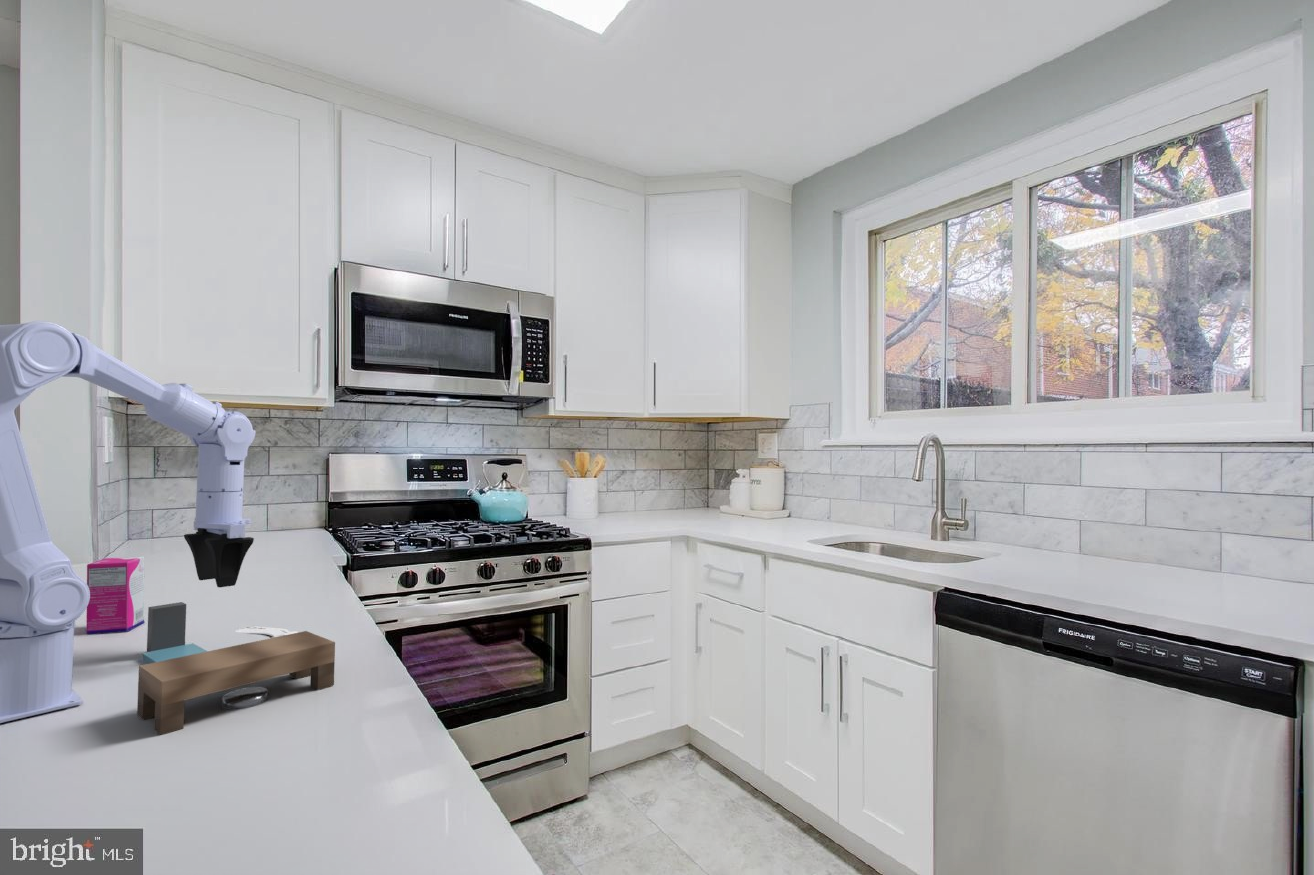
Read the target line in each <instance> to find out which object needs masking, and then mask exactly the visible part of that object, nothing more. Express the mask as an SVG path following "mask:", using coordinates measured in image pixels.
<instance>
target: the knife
mask: <svg viewBox="0 0 1314 875" xmlns="http://www.w3.org/2000/svg"><path fill="white" fill-rule="evenodd" d="M253 626H254V625H253ZM245 627H246V628H244V629H240V628H238V629H239V630H237V629H236V630H235V631H234V633H238V634H247V635H248V634H249V635H250V634H251V635H252V634H253V635H264V636H265V635H267V636H271V638H275V637H279V636H284V635H289V634H294V633H299V631H296V630H295V631H290V630H288V629H287V628H280V627H279V628H278V627H268V626H267V627H266V626H254V627H251V629H250V628H247V626H245Z"/></svg>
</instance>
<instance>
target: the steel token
mask: <svg viewBox="0 0 1314 875" xmlns="http://www.w3.org/2000/svg"><path fill="white" fill-rule="evenodd" d="M268 690H269V689H268V688H266V687H262V686H252V687H251V686H249V687H244V688H238V689H235V690H232V691H229V692H227V693H225V694H224V695H222V701H221V702H222V704H221V705H222V708H223V709H226V710H243V709H249V708H253V707H257V706H259V705H261V704H263V703H265V702H266V701H267V700H268V694H269V692H268Z"/></svg>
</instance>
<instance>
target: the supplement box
mask: <svg viewBox="0 0 1314 875" xmlns="http://www.w3.org/2000/svg"><path fill="white" fill-rule="evenodd" d="M145 558H146V557H145V556H142V555H141V556H129V557H127V556H126V557H107V558H102V559H100V560H97V561H94V562H90V563H87V564H86V583H87V585H88V587H89V590H90V600H89V603H88V606H87V608H86V626H85V627H86V629H85V630H86V631H85V632H86V633H85V634H87V635H94V634H95V635H97V634H99V635H100V634H110V633H112V634H113V633H115V634H116V633H128V632H130V631H132V630H134V629H135V628H137V627H139V626H141V625H143V624H144V623H145Z"/></svg>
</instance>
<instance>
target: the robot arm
mask: <svg viewBox="0 0 1314 875" xmlns="http://www.w3.org/2000/svg"><path fill="white" fill-rule="evenodd" d="M62 377H65V378H66V377H67V378H70V377H71V378H79V379H83V380H84V381H86V382H89V383H92V384H94V385H96V386H99V387H100V388H102V389H106V390H108V391H110V392H112V393H115V394H118V395H119V396H122V397H124V398H126V399H127V400H131V401H133V402H136V403H137V404H140V405H143V407H144V411H145V414H146V416H147V418H149V419H151V420H152V421H155V422H157V423H159V424H161V425H164V426H166V427H168V428H170V429H172V430H174V431H177V432H179V433H181V434H183V435H184V436H187V437H188V438H189V439H190V441H191V443H192V444H193V445H194V446H195V447H197V448H198V449H197V450H198V451H197V455H198V456H197V473H196V477H197V479H196V500H195V517H194V521H193V528H194V529H193V530H194V531H195V533H185V534H184V535H183V537H184V539H185V540H184V541H186V543H187V544H188V546H189V549H190V551H191V554H192V557H193V561H194V566H195V571H196V574H197V578H198V580H199V581H207V580H215V583H216V586H217V588H226V587H232V586H234V587H235V586H236V584H237V580H238V579H239V574H240V571H241V568H242V564H243V561H244V559H245V556H246V555H247V553H248V551H249V549H250V548H251V546H252V545H253V544H254V542H255V541H254V540H255V538H254V537H252V536H248V537H246V525H249V524H251V523H252V519H251V518H243V507H244V506H243V504H244V482H245V480H244V479H245V477H244V476H245V460H246V457H247V458H248V449H249V447H250V446H251V444H252V443H253V442H254V440H255V437H256V432H257V431H256V430H254V429H253V428H254V427H253V425H252V422H251V421H250V420H249V418H248V417H247V416H246V415H245V414H244V413H242V412H240V411H236V410H234V411H233V410H232V411H230V410H225V408H223V404H222V403H220V402H218V401H215V400H214V401H211V400H208V399H207V398H205V397H203V396H202V395H200V394H198V393H195V391H193V390H194V387H193V386H192V385H189V384H188V383H176V382H169V383H164V384H160V383H158V382H157V381H155V380H153V379H151V378H150V377H148V376H146V375H145V374H143V373H141V372H140V371H138V370H137V369H135V368H133V367H131V366H130V365H128V364H126V363H125V362H123V361H121V360H119V359H118V358H116V357H114V356H113V355H112V354H109V353H108V352H106V351H104V350H103V349H101V348H99V347H97V346H96V345H95V344H94V343H92V341H90V339H88V338H87V337H86V336H83V335H82V334H81V335H80V334H78V333H75V332H71V331H69V330H68V329H66V328H65V327H63V326H62V325H59V324H57V323H55V322H52V321H51V322H50V321H45V320H35V321H29V322H24V323H14V324H13V323H12V324H0V724H2V723H7V722H10V721H11V722H12V721H15V720H19V719H23V718H27V717H32V716H36V715H41V714H45V713H49V712H54V711H59V710H63V709H66V708H67V709H68V708H71V707H75V706H79V705H82V704H83V702H84V701H83V698H81V696H79V694H77V693H76V691H75V690H74V689H73V665H74V664H73V662H74V638H75V627H76V621H77V620H78V619H79V618H80V617H82V615H83V614H84V612H86V611H87V606H88V603H89V600H90V590H89V587H88V585H87V581H85V580H84V579H83V578H82V577H80V576H79V575H78V574H77V573H76V572H75V570H74V568H73V565H72V561H71V560H70V558H69V557H68V556H67V555H65V553H64V552H63V551H62V550H61V549H59V548H58V547H57V545H55V543H53V541H52V538H51V534H50V531H49V529H48V528H49V527H48V524H47V521H46V518H45V514H44V510H43V506H42V503H41V499H40V497H39V493H38V489H37V486H36V483H35V479H34V475H33V473H32V469H31V465H30V462H29V458H28V455H27V452H26V447H25V445H24V442H23V439H22V438H23V437H22V436H21V432H20V428H19V424H18V421H17V418H16V414H15V410H16V408H18V407H19V406H20V405H21V403H22V402H24V401H25V400H26V399H27V398H29V396H30V395H31V394H32V393H33V392H35V391H36V389H37V388H40V387H42V386H44V385H47V384H49V383H51V382H52V381H55V380H57V379H60V378H62Z"/></svg>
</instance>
